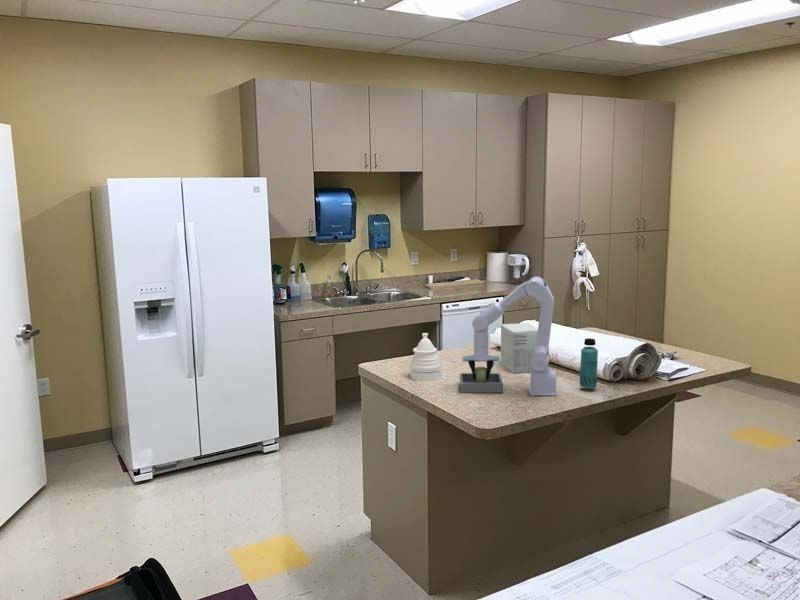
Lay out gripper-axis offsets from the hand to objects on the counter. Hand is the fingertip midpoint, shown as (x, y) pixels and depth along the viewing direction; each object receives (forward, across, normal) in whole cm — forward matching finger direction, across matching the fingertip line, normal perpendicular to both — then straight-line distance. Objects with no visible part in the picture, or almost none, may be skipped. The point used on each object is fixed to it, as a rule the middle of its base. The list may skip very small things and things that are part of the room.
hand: (480, 379), depth 255 cm
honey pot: (+4, -22, +16) cm, 27 cm away
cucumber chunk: (+2, 0, 0) cm, 2 cm away
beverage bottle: (+4, +41, -2) cm, 41 cm away
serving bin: (+3, 0, 0) cm, 3 cm away
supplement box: (+4, +19, +30) cm, 36 cm away
